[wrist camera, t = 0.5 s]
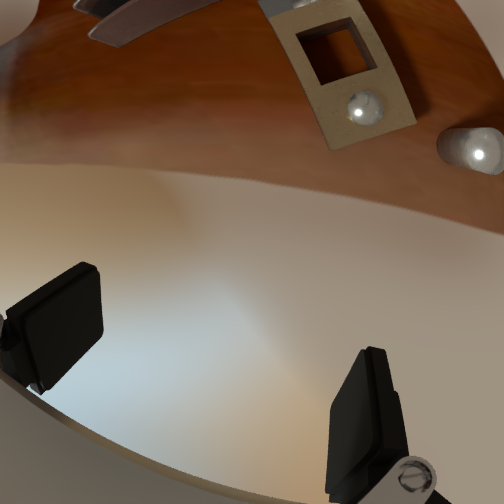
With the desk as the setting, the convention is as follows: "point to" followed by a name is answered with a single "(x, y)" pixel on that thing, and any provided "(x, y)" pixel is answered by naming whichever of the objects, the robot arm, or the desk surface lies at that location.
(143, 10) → the letter holder
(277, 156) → the desk surface
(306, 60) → the square hole plate
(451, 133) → the steel pin
